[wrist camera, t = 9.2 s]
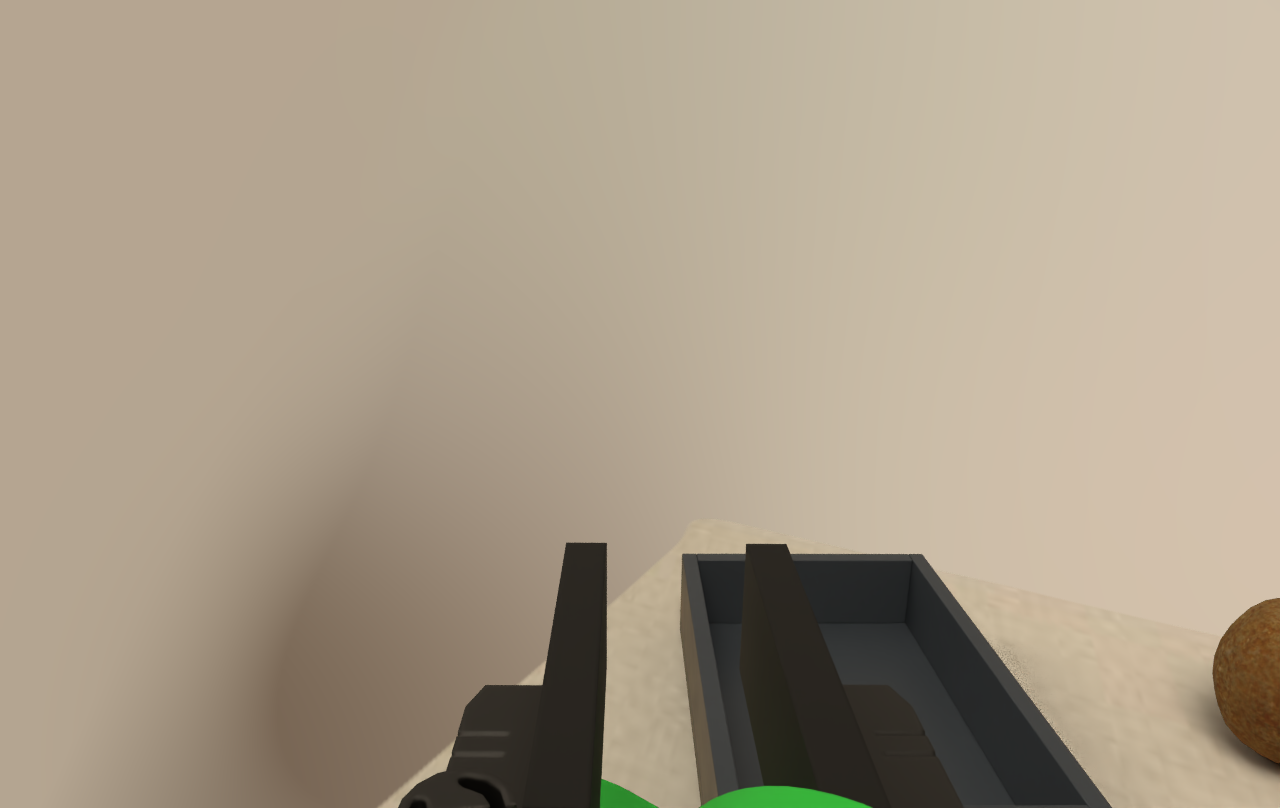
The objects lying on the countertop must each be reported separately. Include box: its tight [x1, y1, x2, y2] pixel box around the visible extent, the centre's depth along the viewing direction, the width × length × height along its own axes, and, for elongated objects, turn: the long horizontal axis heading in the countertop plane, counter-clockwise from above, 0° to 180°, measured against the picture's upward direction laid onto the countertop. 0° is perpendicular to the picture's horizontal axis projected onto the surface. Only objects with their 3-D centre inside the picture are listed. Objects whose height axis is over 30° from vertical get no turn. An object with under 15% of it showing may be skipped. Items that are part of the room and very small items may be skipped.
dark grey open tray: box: [680, 554, 1112, 808], centre depth 38 cm, size 14×20×5 cm
